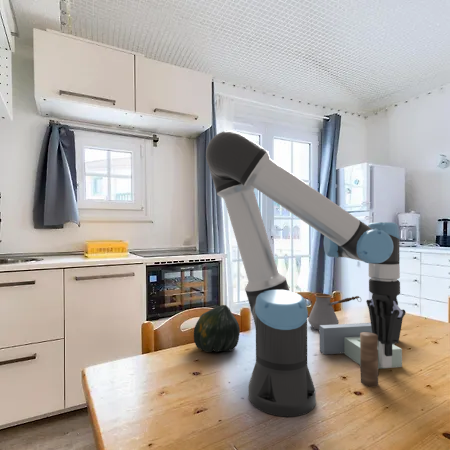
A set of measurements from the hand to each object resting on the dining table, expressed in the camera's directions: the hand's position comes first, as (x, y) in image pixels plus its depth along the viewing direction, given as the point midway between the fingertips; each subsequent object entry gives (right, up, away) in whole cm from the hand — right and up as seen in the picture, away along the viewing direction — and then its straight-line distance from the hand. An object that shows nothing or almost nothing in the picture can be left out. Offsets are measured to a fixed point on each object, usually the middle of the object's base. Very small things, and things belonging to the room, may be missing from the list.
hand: (385, 366), depth 83 cm
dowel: (-7, -1, -6) cm, 10 cm away
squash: (-46, -2, +16) cm, 49 cm away
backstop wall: (-1, -2, +15) cm, 15 cm away
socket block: (0, -2, +7) cm, 7 cm away
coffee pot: (-2, -2, +33) cm, 33 cm away
